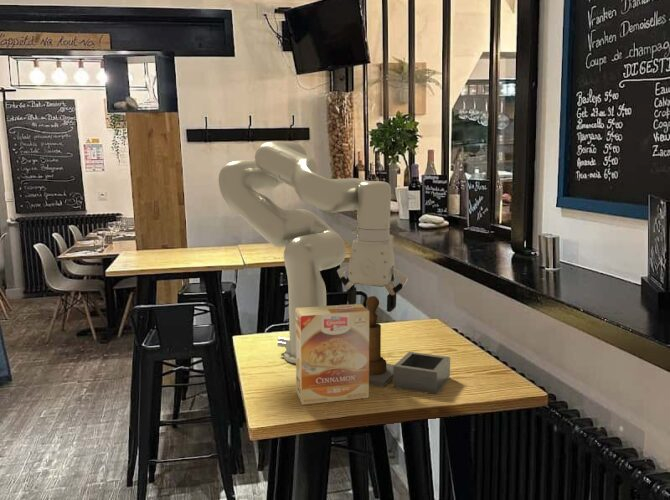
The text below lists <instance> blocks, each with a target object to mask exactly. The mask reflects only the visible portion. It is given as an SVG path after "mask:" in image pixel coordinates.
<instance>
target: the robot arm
mask: <svg viewBox="0 0 670 500" xmlns="http://www.w3.org/2000/svg"><path fill="white" fill-rule="evenodd" d="M283 184H286V185H288V186H290V187H291V188H293V189H294V191H295V193H296V194H297V196H298V197H299V199H300V200H302V201H303V202H304V203H306V204H308V205H310V206H312V207H314V208H315V209H318V210H319V211H322V212H326V213H331V214H333V213H341V212H350V211H357V216H356V217H357V218H356V227H355V228H352V229H351V231H350V232H351V235H354V236H355V240H354V239H353V241H352V244H351V249H350V253H349V254H350V255H349V261H348V264H347V265H344V266H342V267H340V268H338V269H337V270H336V272H337V274H338V277H339V278H340V280H339V281H340V282H341V283H342V284H343V285H344V289H346V302H348V303H347V305H352V304H357V287H355V286H356V285H361V286H362V285H363V286H371V287H376V288H377V287H378V288H379V287H380V288H385V290H386V291H387V292H388V294H387V296H386V312H387V313H390V312H392V311H394V309H395V308H396V306H397V294H398V293H399V292H400V291H401V290H402V289H403V288H405V285H406V283H407V282H408V280H409V276H408V275H407V274H405V273H404V272H402V271H400V270H399V269H397V268H396V265H395V251H394V246H393V241H390V237H391V234H390V231H391V229H390V228H391V205H392V204H391V203H392V202H391V200H392V187H391V185H390V183H389V182H386V181H382V180H366V179H363V178H357V177H353V178H351V177H347V178H333V179H331V178H327V177H324V176H323V175H320V174H318V167H317V163H316V161H315V160H314V158H312V157H310V156H308V154H307V151H306V149H305V148H304V147H303V145H302V144H299V143H297V142H295V141H268V142H264V143H263V144H261V145H260V146H258V147H257V149H256V151H255V154H254V159H243V160H241V159H240V160H234V161H231V162H229V163H226V164H224V166H223V167H222V168H221V169H220V171H219V174H218V187H219V191H220V193H221V196H222V198H223V200H224V201H225V203H226V204H227V206H228V207H230V209H231V210H232V211H234V212H235V213H236V214H237V215H238V216H240V217H241V218H242V219H244V220H245V221H246V222H247V223H248V224H249V225H250V226H251V227H252V228H253V229H254V230H255V231H256V232H257V233H258V234H260V236H261V237H262V238H264V239H265V240H266V242H268V243H269V244H270V245H272V246H273V247H275V248H284V250H283V261H284V267H285V271H286V275H287V286H288V315H289V316H288V317H289V319H288V320H289V321H288V323H289V328H288V331H289V338H288V337H282V336H278V339H277V347H280V348H285V351H284V353H283V358H284V360H285V361H287V362H288V363H291V364H295V365H296V318H295V308H303V307H319V306H327V290H326V284H325V281H324V279H323V277H322V274H321V271H324V270H329V269H332V268H336V267H337V266H340V265H341V264H342V263H343V262H344V261H345V259H346V256H347V248H346V247H347V246H346V244H345V241H344V240H343V238H342V237H341V236H340V235H339V233H338V232H336V231H335V230H334V229H333V228H332V227H331V226H329V224H327V223H326V222H325V221H324V220H323V219H321V218H320V217H319V216H318V215H317V214H315V213H314V212H312V211H310V210H308V209H304V208H296V209H283V208H281V207H280V206H279V205H278V204H276V203H275V202H274V201H273V200H272V199H270V198H269V197H267V196H266V195H264V194H262V193H260V192H261V191H262V192H263V191H270V190H272V189H273V190H274V189H275V188H278V187H279V186H281V185H283ZM347 271H348V272H347ZM346 272H347V274H348V275H347V274H346ZM395 278H398V279H399V282H398V284H397V285H396V284H395V283H394V281H395Z"/></svg>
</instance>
